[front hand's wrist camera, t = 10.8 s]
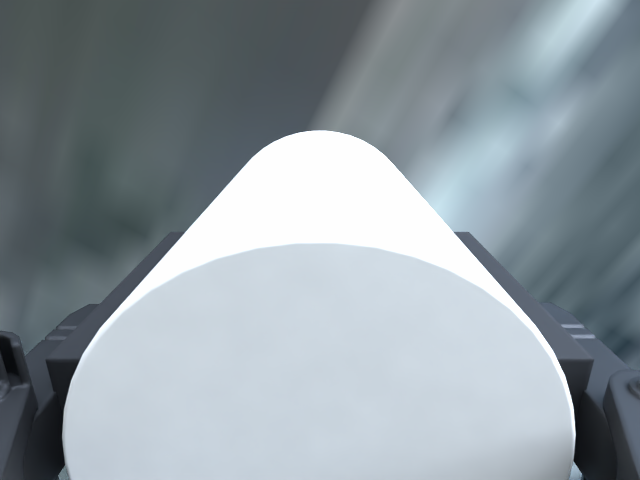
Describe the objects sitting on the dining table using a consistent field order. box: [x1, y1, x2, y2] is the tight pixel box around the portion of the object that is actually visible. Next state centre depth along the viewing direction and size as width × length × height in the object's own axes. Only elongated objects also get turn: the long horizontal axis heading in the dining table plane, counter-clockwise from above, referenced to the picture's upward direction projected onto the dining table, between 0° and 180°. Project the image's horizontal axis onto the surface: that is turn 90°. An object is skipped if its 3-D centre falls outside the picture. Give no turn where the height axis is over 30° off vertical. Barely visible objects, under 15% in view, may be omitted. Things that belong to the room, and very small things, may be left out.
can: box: [62, 131, 576, 480], centre depth 12 cm, size 8×8×12 cm
